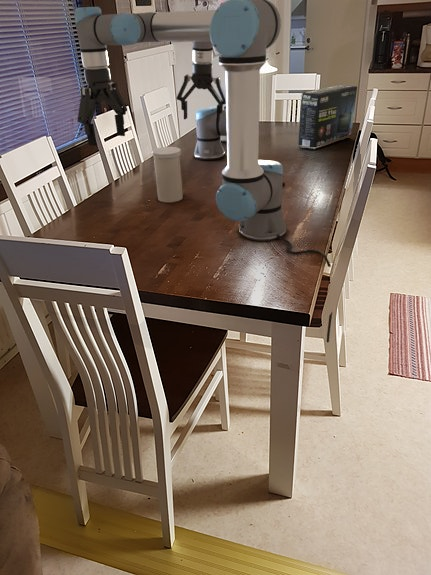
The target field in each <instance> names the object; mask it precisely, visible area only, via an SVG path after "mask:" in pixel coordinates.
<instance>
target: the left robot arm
mask: <svg viewBox="0 0 431 575" xmlns="http://www.w3.org/2000/svg"><path fill="white" fill-rule="evenodd" d="M213 51H214V46H213V45H212V42H192V62H193V63H192V74H191V75H190V74H185V75H184V76H183V82H182V85H181V87H180V89H179V91H178V94H177V96H176V100H177V101H180V108H181V109H180V110H181V111H183V120H186V119H188V100H187V99H188V97H190V95H191V94H192V93H193V92H194V90H195V89H197V90H208V92H209V93H210V94H211V96H212V97H213V98H214V100H215V101H216V103H217V105H214V106H206V107H202V108H199V109H198V110H196V112H195V127H196V128H195V131H196V144H195V148H194V151H193V152H194V153H193V157H194V158H195V160H198V161H217V160H221V159H223V158H225V154H226V153H225V152H226V151H225V149H224V146H223V144H222V142H221V138H220V136H227V120H226V92H225V91H224V88H223V86H222V83H221V77H220V76H217V77H214V76H213V63H212V62H213V59H214V58H213V57H214V55H213V53H214V52H213ZM190 81H192V83H193V84H192V85H191V86H190V88H189V89H188V91H187V92H185V90H186V88H187V86H188V83H189V82H190ZM212 83H214V84H215V85H216V88H217V90H216V89H215V88H214V86H213V84H212ZM184 92H185V94H184ZM217 92H218V93H219V94H218V93H217ZM183 94H184V95H183Z"/></svg>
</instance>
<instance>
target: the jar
mask: <svg viewBox="0 0 431 575" xmlns="http://www.w3.org/2000/svg"><path fill="white" fill-rule="evenodd" d="M181 164H182V163H181V155H180V156H178V157H174V158H167V159H161V158H155V157H153V165H154V174H155V183H156V184H155V185H156V194H157V200H158V201H160V202H162V203H176V202H179V201H182V200H183V199H184V191H183V190H184V189H183V176H182V175H183V174H182V165H181Z"/></svg>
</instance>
